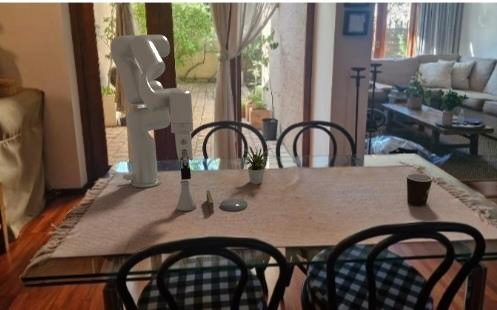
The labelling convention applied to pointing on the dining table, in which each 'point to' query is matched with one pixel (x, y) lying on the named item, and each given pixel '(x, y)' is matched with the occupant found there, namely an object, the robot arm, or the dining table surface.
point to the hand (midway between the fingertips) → (185, 174)
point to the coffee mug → (418, 189)
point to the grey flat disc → (233, 204)
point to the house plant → (256, 166)
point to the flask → (186, 198)
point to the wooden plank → (210, 201)
